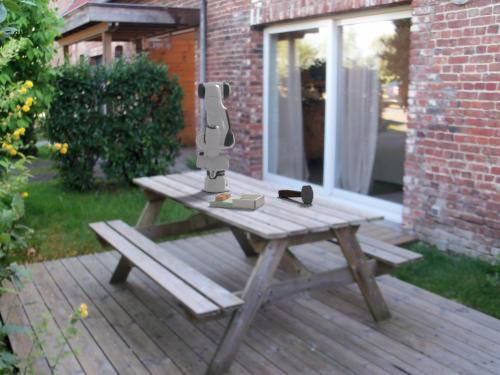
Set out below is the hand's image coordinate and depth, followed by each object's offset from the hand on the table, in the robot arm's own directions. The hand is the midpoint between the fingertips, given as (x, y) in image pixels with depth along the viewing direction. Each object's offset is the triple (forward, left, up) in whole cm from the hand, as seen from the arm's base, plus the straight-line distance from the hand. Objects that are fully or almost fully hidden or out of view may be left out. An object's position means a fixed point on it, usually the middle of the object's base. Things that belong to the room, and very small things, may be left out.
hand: (212, 175), depth 352 cm
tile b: (+8, +8, -13) cm, 17 cm away
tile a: (0, +8, -13) cm, 15 cm away
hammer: (-22, +46, -17) cm, 53 cm away
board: (+4, +10, -16) cm, 19 cm away
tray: (+4, +24, -16) cm, 29 cm away
